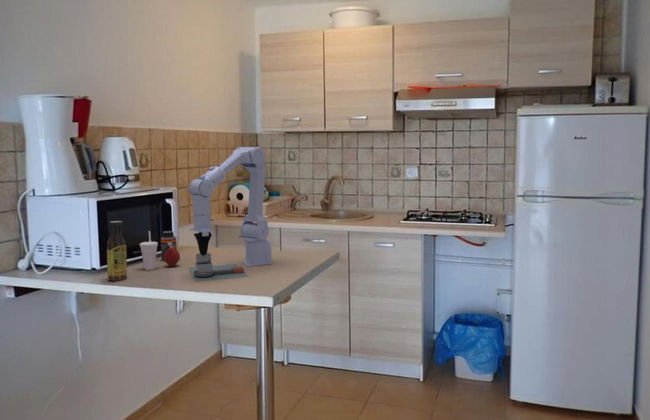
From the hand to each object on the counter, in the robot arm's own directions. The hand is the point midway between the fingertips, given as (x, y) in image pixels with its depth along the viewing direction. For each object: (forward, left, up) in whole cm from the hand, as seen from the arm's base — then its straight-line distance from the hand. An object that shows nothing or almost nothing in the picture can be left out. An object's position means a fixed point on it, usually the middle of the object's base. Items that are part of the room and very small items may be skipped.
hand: (203, 253), depth 195 cm
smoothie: (+17, -19, -8) cm, 27 cm away
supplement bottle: (+9, -33, -8) cm, 35 cm away
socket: (0, 0, -6) cm, 6 cm away
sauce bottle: (+28, -7, -8) cm, 30 cm away
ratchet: (-5, 0, -8) cm, 9 cm away
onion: (+9, -20, -8) cm, 23 cm away
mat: (-5, -4, -8) cm, 10 cm away
